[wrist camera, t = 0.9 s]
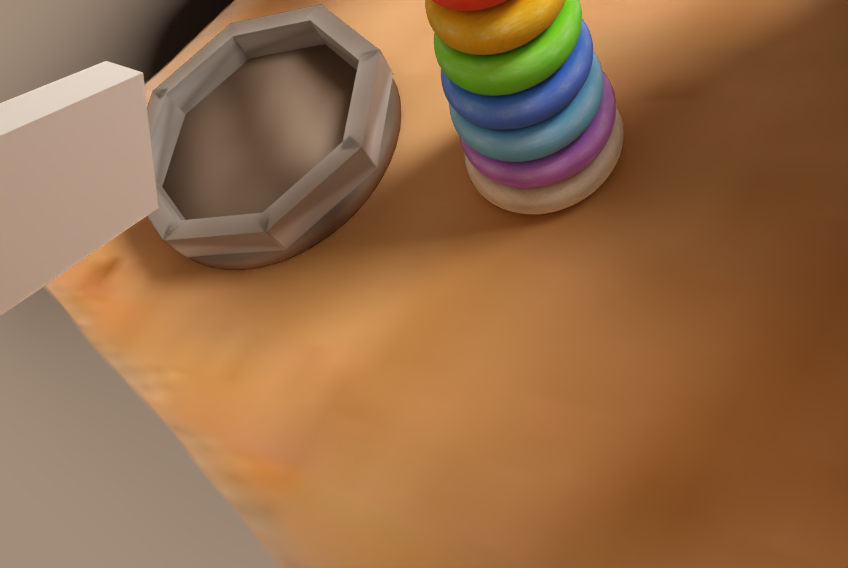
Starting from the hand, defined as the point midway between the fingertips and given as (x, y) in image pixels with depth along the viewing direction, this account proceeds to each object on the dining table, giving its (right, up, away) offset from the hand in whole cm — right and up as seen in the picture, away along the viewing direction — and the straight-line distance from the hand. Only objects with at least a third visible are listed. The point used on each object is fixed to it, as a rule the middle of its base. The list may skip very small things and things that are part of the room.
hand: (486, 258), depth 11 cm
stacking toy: (+5, +6, +24) cm, 26 cm away
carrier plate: (-10, +8, +31) cm, 34 cm away
